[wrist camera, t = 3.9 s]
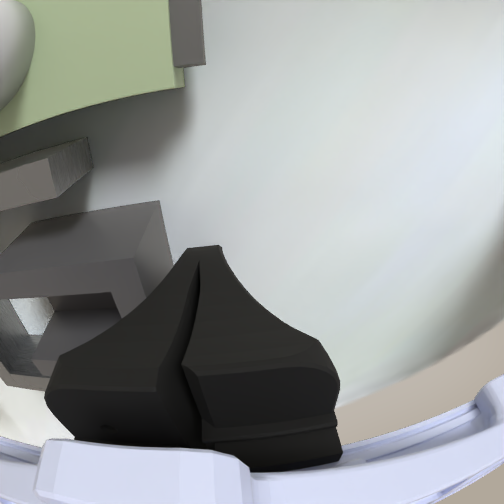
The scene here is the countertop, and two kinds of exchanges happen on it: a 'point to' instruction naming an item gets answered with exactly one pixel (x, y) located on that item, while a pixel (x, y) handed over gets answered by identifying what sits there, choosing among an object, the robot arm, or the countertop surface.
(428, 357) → the countertop surface
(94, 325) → the chute
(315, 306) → the countertop surface
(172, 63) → the pale green flat plate
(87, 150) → the chute mount
